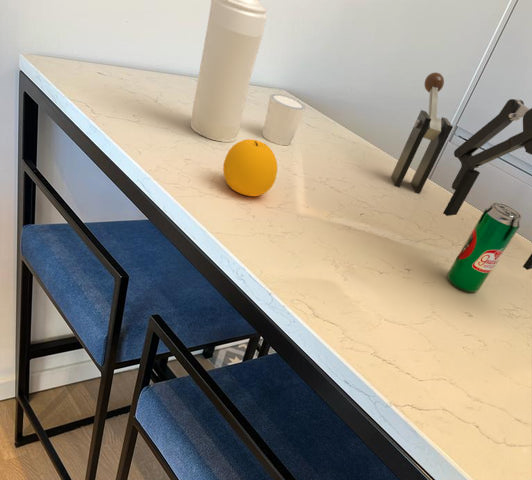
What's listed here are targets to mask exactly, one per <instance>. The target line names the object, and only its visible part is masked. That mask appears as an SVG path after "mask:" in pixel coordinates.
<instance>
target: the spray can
mask: <svg viewBox="0 0 532 480" xmlns="http://www.w3.org/2000/svg"><path fill="white" fill-rule="evenodd" d="M267 10H268V9H267V8H266V7H265V5H262V4H261V3H260V1H259V0H211V1H210V8H209V15H208V21H207V26H206V31H205V33H206V34H205V37H204V43H203V49H202V55H201V61H200V65H199V72H198V77H197V82H196V83H197V84H196V88H195V93H194V99H193V106H192V112H191V119H190V127H191V129H192V130H193V131H194V132H195V133H197V134H198V135H200V136H202V137H204V138H206V139H209V140H213V141H216V142H223V143H231V142H235V141H237V140H238V138H239V137H238V136H239V133H240V128H241V124H242V120H243V115H244V110H245V106H246V101H247V95H248V92H249V86H250V82H251V78H252V75H253V71H254V66H255V63H256V59H257V55H258V53H259V49H260V45H261V41H262V39H263V35H264V30H265V25H266V20H267V14H266V12H267Z"/></svg>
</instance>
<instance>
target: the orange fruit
mask: <svg viewBox="0 0 532 480" xmlns="http://www.w3.org/2000/svg"><path fill="white" fill-rule="evenodd" d="M222 169H223V176H224V179H225V180H224V181H225V182H226V184H227V185H228V186H229V187H230V188H231V189H232V191H234V192H237V193H238V194H241V195H244V196H247V197H258V196H263V195H264V194H267V193H268V191H270V190H271V188H272V187H273V186H274V184H275V182H276V180H277V174H278V162H277V158H276V156H275V153H274V151H273V150H272V148H271V147H269V146H268V144H266V143H265V142H262V141H261V140H260V141H259V140H256V139H252V138H250V139H249V138H248V139H247V138H246V139H243V140H241V141H238V142H236V143H235V144H233V145H232V146H231V147H230V148H229V150H228V151H227V154H226V155H225V159H224V162H223V168H222Z"/></svg>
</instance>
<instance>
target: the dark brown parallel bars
mask: <svg viewBox="0 0 532 480" xmlns="http://www.w3.org/2000/svg"><path fill="white" fill-rule="evenodd" d="M440 119H441V132H440V134H439V135H438V136H437V138H436V139H435V140H434V141H432V140H430V142H429V143H428V145H427V147H426V150H425V152H424V154H423V156H422V158H421V160H420V162H419V164H418V166H417V169H416V170H415V172H414V175H413V177H412V178H411V181H410V186H411V188H412V190H413V192H414V194H418V195H419V194H421V192H422V190H423V188H424V186H425V184H426V183H427V180H428V178H429V176H430V173H432V172H431V171H432V170H433V168H434V166H435V165H436V162H437V160H438V158H439V156H440V154H441V152H442V151H443V148H444V147H445V144H446V142H447V140H448V137H449V136H450V134H451V132H452V130H453V128H454V126H453V125H452V123H451V122H450V121H449V119H448V118H447V117H443V116H442V117H441V118H440ZM430 122H431V118H430V117H429V113H428V112H427V111H426V110H422V109H420V111H419V114H418V115H417V118H416V120H415V122H414V125H413V126H412V129H411V131H410V134H409V136H408V138H407V140H406V142H405V145H404V147H403V149H402V152H401V153H400V156H399V158H398V160H397V162H396V164H395V167H394V169H393V171H392V173H391V175H390V178H391V181H392V184H393V186H394V187H396V188H401V185H402V183H403V181H404V179H405V177H406V175H407V173H408V171H409V169H410V166H411V164H412V163H413V160H414V158H415V156H416V153H417V151H418V149H419V147H420V145H421V143H422V141H423V136H424V134H425V132H426V130H427V128H428V126H429V124H430Z"/></svg>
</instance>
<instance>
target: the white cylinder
mask: <svg viewBox="0 0 532 480" xmlns="http://www.w3.org/2000/svg"><path fill="white" fill-rule="evenodd" d="M305 112H306V105H305V104H304V103H302V102H301V101H299V100H298V99H295V98H293V97H290V96H287V95H284V94H279V93H271V94H270V95H269V100H268V104H267V110H266V114H265V120H264V125H263V129H262V137H263V138H264V139H265V140H267V141H268V142H270V143H273V144H276V145H280V146H290V145H291V144H292V141H293V139H294V137H295V135H296V132H297V131H298V127H299V125H300V123H301V120H302V118H303V116H304V115H305V114H304V113H305ZM289 144H290V145H289Z"/></svg>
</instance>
